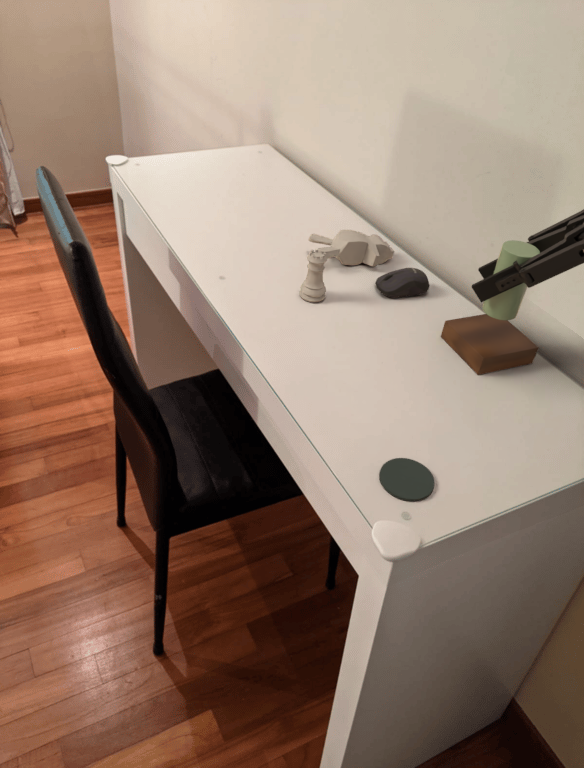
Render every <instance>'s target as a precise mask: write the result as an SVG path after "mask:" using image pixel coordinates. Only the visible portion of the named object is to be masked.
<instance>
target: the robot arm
mask: <svg viewBox="0 0 584 768" xmlns="http://www.w3.org/2000/svg"><path fill="white" fill-rule="evenodd" d="M525 242H526V243H529V244H531V245H533V246H535V247H536V248H538V249H539V251H540V253H539V254H538V255H536V256H534V257H532V258H531V259H529V260H527V261H525V262H524V263H522V264H520V265H519V264H518V262H517V260H516V261H515V262H514V263H513V265H512V266H510V267H508V268H506V269H504V270H501V271H499V272H497V273H495V274H493V272H494V269H495V266H496V263H497V260H498V258H496V259H494V260H492V261H489V262H488V263H486V264H483V265H482V266H480V267H479V268H478V269H477V270H478V272H479V274H480V275H481V277H482V279H481V280H479V281H477V282H475V283H473V284H471V289H472V291H473V292H474V293H475V296H476V297H477V298H478V300H479V301H480V303H484V301H485V300H488V299H490V298H492V297H494V296H496V295H498V294H501V293H503V292H505V291H507V290H509V289H512V288H514V287H516V286H518V285H520V284H522V283H525V284H526V285H527V289H530V288H532V287H535V286H537V285H538V284H541V283H544V282H546V281H549V280H550V279H552V278H555V277H557V276H559V275H561V274H563V273H565V272H568V271H569V270H572V269H574V268H576V267H579V266H580V265H583V264H584V208H583V209H581V210H580V211H578V212H576V213H574V214H572V215H570V216H568V217H567V218H566V217H565V218H564V219H562V220H560V221H558V222H555V223H554V224H552V225H550V226H548V227H546V228H544V229H542V230H540V231H538V232H537V233H534V234H532V235H530V236H529V237H528V238H527V241H525Z"/></svg>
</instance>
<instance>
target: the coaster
mask: <svg viewBox="0 0 584 768" xmlns="http://www.w3.org/2000/svg"><path fill="white" fill-rule="evenodd" d="M378 475H379V476H378V477H379V482H380V485H381V486H382V487H383V489H384V490H385V492H387V493H388V494H389V495H391V496H392V497H394V498H395V499H398V500H401V501H404V502H419V501H423V500H425V499H427V498H428V497H429V496H430V495H431V494H432V493H433V491H434V488H435V478H434V475H433V473H432V472H431V470H430V469H429V468H428V467H427V466H425V465H424V464H423V463H421V462H419V461H417V460H414V459H413V458H407V457H396V458H392V459H389V460H388V461H386V462H384V463H383V464H382V466H381V468H380V470H379V474H378Z"/></svg>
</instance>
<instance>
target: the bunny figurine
mask: <svg viewBox="0 0 584 768" xmlns="http://www.w3.org/2000/svg"><path fill="white" fill-rule="evenodd" d="M308 241H309V242H310V243H314V244H319V245H325V246H324V247H318V248H317V249H318V252H320V251H321V250H322V251H324V253H325V254H326V255H325V256H326V258H327V260H329V259H332V258H336V259H337V260H338V261H339V262H340V264H341V265H343V266H345V265H346V266H359V265H360V264H365V265H368V266H370V267H377V266H378V265H379V266H380V265H382V264H384V263H386V262H387V261H388V260H392V259H393V258H394V254H395V250H394V249H393V248H392V247H391V245H390V244H389V243H388V241H385V240H383V238H382V237H381V235H378V234H370V235H367V234H365V233H363V232H360V231H357V230H353V229H340V230H339V231H338V232H337V234H336V235H335V236H334V237H333V238H330V237H327V236H324V235H320V234H317V233H311V234H310V235H309V237H308Z"/></svg>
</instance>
